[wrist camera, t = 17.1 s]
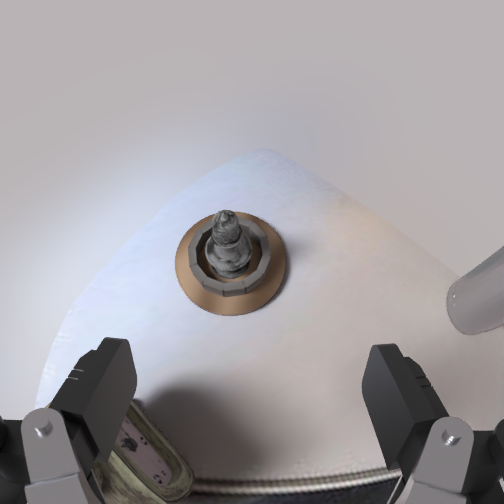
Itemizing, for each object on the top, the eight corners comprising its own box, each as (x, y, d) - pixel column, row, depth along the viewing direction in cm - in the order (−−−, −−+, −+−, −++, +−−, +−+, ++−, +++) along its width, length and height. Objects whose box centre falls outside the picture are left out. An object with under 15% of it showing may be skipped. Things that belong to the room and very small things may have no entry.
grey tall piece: (260, 268, 43) (263, 223, 32) (220, 288, 42) (210, 248, 31) (239, 234, 45) (236, 181, 35) (201, 252, 44) (186, 203, 33)
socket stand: (298, 235, 47) (302, 222, 43) (262, 332, 41) (263, 326, 37) (204, 203, 49) (201, 189, 46) (158, 291, 43) (151, 281, 40)
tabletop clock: (205, 469, 33) (147, 556, 10) (155, 505, 30) (61, 591, 8) (131, 385, 37) (4, 357, 15) (86, 421, 35) (-54, 420, 12)
